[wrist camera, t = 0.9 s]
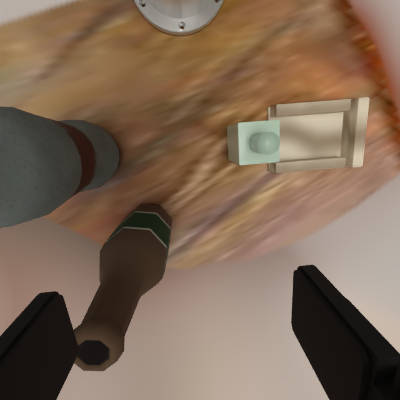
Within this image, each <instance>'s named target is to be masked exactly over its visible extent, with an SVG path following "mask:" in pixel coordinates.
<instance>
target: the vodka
mask: <svg viewBox="0 0 400 400" xmlns="http://www.w3.org/2000/svg"><path fill="white" fill-rule="evenodd" d="M119 161H120V158H119V150H118V147H117V145H116V142H115V141H114V140H113V138H112V137H111V136H110V135H109V133H107V132H106V131H105V130H103V129H102V128H100V127H98V126H96V125H94V124H92V123H89V122H86V121H83V120H64V121H55V120H51V119H48V118H44V117H41V116H37V115H34V114H31V113H28V112H25V111H22V110H19V109H16V108H14V107H0V228H2V227H8V226H13V225H17V224H20V223H23V222H26V221H30V220H32V219H35V218H39V217H42V216H45V215H48V214H50V213H51V212H52V211H54V210H55V209H56V208H58V207H59V206H60V205H62V204H63V203H64V202H65V201H67V200H68V199H69V198H71V197H72V196H74V195H75V194H77V193H78V192H82V191H86V190H91V189H94V188H97V187H101V186H102V185H103V184H105V183H106V182H107V181H109V180H110V179H111V177H112V176H113V175H114V173H115V172H116V170H117V169H118V165H119Z"/></svg>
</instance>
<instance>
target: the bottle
mask: <svg viewBox="0 0 400 400" xmlns="http://www.w3.org/2000/svg"><path fill="white" fill-rule="evenodd" d="M227 142H228V160H229V161H232V162H234V163H236V164H238V165H249V164H261V163H273V162H279V146H280V120H268V121H255V122H242V123H236V124H233V125H230V126H227Z"/></svg>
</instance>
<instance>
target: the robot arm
mask: <svg viewBox="0 0 400 400" xmlns="http://www.w3.org/2000/svg"><path fill="white" fill-rule="evenodd" d="M215 1H218V3H216V2H215ZM134 2H135V4H136V6H137V8H138V10H139V11H140V12H141V14H142V15H143V17H144V18H145V19H146V20H147V21H148V22H149V23H150V24H151V25H153V26H154V27H155V28H157V29H158V30H160V31H163V32H165V33H167V34H172V35H189V34H193V33H195V32H198V31H200V30H202V29H203V28H204V27H206V26H207V25H208V24H209V23H210V22H211V21H212V20H213V19H214V18H215V17H216V15H217V13H218V12H219V10H220V8H221V5H222V3H223V0H134ZM143 5H145V7H142V6H143ZM181 27H184V29H183V30H182V29H180V28H181ZM291 322H292V329H293V331H294V333H295V335H296V337H297V339H298V341H299V343H300V345H301V347H302V349H303V350H304V352H305V354H306V356H307V358H308V360H309V362H310V364H311V365H312V368H313V369H314V371H315V373H316V375H317V377H318V379H319V381H320V382H321V385H322V386H323V388H324V390H325V392H326V394H327V396H328V398H329V399H330V400H400V354H399V353H398V352H397V350H395V348H394V347H393V346H392V345H391V344H390V343H389V342H388V341H387V340H386V339H385V338H384V337H383V336H382V335H381V334H380V333H379V332H378V331H377V329H376V328H375V327H374V326H373V325H372V324H371V323H370V322H369V321H368V320H367V319H366V318H365V317H364V316H363V315H362V314H361V313H360V312H359V311H358V309H356V307H355V306H354V305H353V304H352V303H351V302H350V301H349V300H348V299H346V298H345V297H344V296H343V295H342V294H341V293H340V292H339V291H338V290H337V289H336V288H335V287H334V286H333V284H332V283H331V282H330V281H329V280H328V279H327V278H326V277H325V276H324V275H323V274H322V273H321V272H320V271H319V270H318V269H317V267H315V266H314V265H306V266H299V267H298V269H297V270H295V271H294V276H293V298H292V321H291ZM77 355H78V343H77V340H76V337H75V334H74V330H73V327H72V324H71V321H70V317H69V314H68V311H67V308H66V304H65V301H64V298H63V296H62V295H59V293H58V292H45V293H40V294H38V295H37V296H36V297H35V298H34V299H33V301H32V302H31V303H30V304H29V305H28V306H27V307H26V308H25V309H24V311H23V312H22V313H21V314H20V315H19V316H18V317H17V318H16V319H15V321H14V322H13V323H12V324H11V325H10V326H9V327H8V328H7V329H6V330H5V332H4V333H3V334H2V335H1V336H0V400H56V399H57V397H58V395H59V393H60V391H61V389H62V387H63V385H64V382H65V380H66V378H67V376H68V374H69V372H70V370H71V368H72V366H73V364H74V362H75V360H76V358H77Z"/></svg>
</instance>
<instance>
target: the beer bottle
mask: <svg viewBox="0 0 400 400" xmlns="http://www.w3.org/2000/svg"><path fill="white" fill-rule="evenodd" d="M171 223H172V219H171V218H170V217H169V215H168V214H167V213H166V212H165V211H164V210H163V209H162V208H161V207H160V206H157V205H146V204H141V205H140V206H139V207H137V208H136V209H135V210H134V211H132V212H131V213H130V214H129V215H128V216H127V217H126V218H124V220H123V221H122V222H121V223H120V225H119V226H118V227H117V228H116V230H115V231H114V232H113V233H112V235H111V236H110V237H109V238H108V240H107V241H106V242H105V244H104V245H103V247H102V249H101V250H100V283H101V284H100V286H99V288H98V290H97V292H96V294H95V296H94V298H93V300H92V303H91V305H90V307H89V309H88V311H87V313H86V315H85V317H84V319H83V321H82V323H81V325H79V326H78V327H77V328H75V329H74V334H75V337H76V340H77V343H78V355H77V358H76V360H75V362H74V363H75V364H76V365H77V366H78V367H80V368H81V369H82V370H84V371H104V370H105V369H107V368H108V367H110V366H111V365H112V364H114V363H115V362H117V360H118V359H119V357H120V356H121V355H122V353H123V352H124V336H125V333H126V331H127V329H128V326H129V324H130V321H131V319H132V316H133V314H134V311H135V309H136V306H137V304H138V301H139V299H140V297H141V296H142V295H143V294H145V293H146V292H147V291H149V290H150V289H151V288H153V287H154V286H155V285H156V284H157V283H158V282H159V281H160V280H161V279H162V277H163V275H164V271H165V266H166V261H167V255H168V249H169V243H170V234H171Z"/></svg>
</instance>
